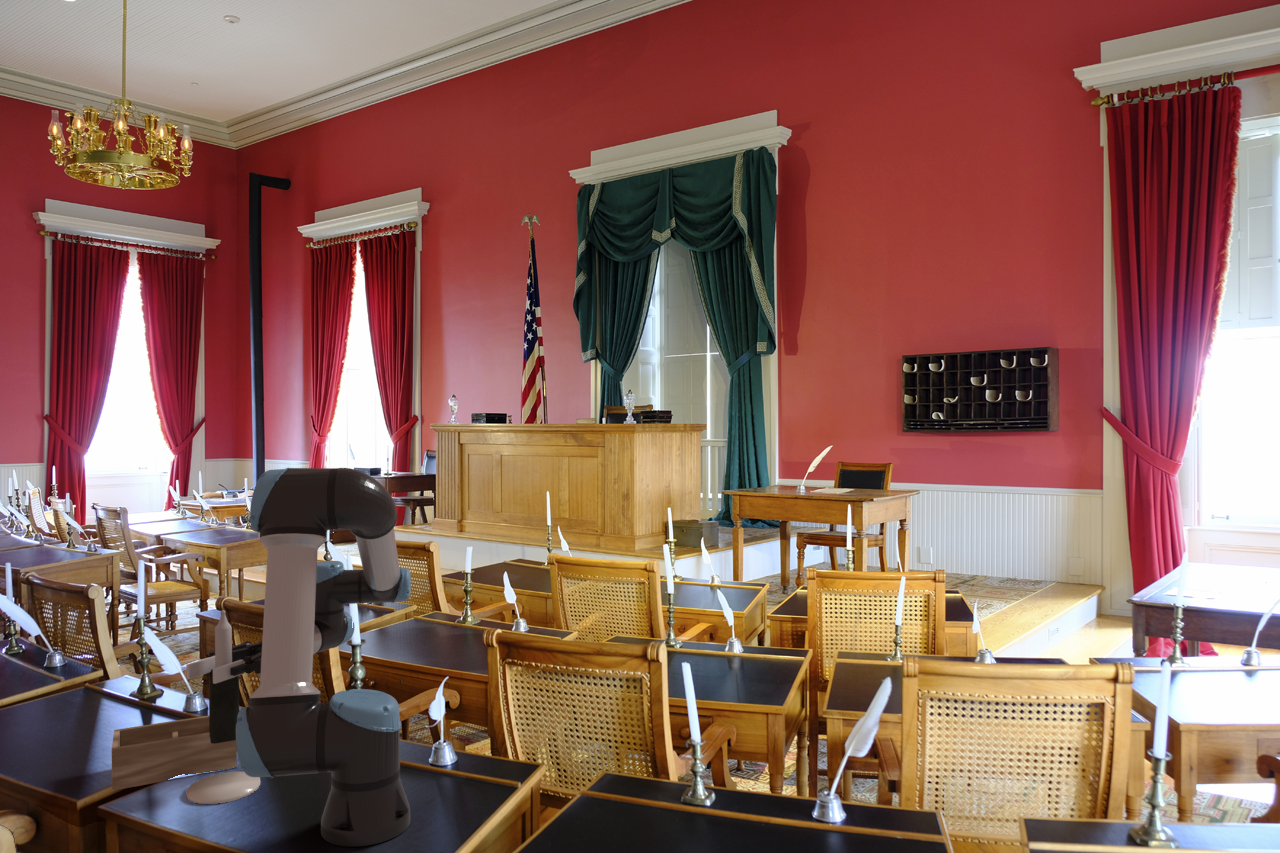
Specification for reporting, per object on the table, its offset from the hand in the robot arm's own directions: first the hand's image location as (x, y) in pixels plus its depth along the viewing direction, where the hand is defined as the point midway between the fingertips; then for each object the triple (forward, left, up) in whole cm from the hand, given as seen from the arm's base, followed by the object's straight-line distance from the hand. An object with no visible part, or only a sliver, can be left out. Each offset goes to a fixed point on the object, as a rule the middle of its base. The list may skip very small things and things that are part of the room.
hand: (201, 674), depth 164 cm
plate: (+3, -4, -24) cm, 24 cm away
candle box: (+19, +4, -24) cm, 31 cm away
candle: (+3, -4, -14) cm, 15 cm away
